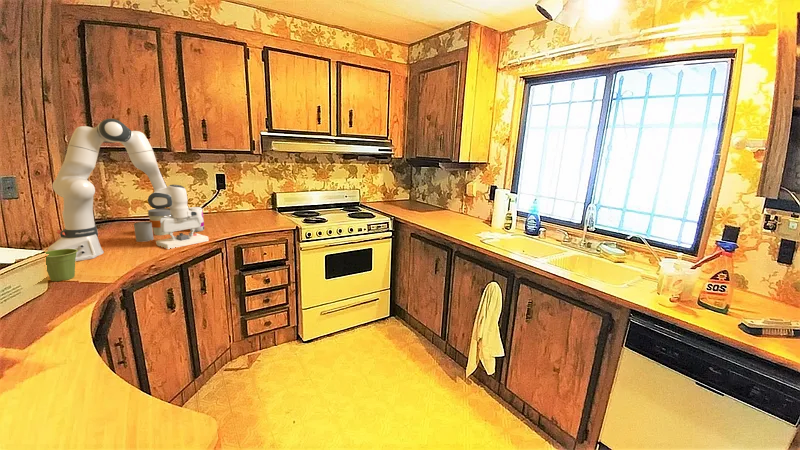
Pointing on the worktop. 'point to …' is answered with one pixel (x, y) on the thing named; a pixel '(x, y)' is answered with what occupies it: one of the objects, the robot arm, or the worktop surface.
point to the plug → (182, 237)
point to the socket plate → (177, 243)
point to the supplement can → (200, 214)
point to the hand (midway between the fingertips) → (182, 237)
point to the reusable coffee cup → (158, 219)
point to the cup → (143, 231)
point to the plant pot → (61, 264)
